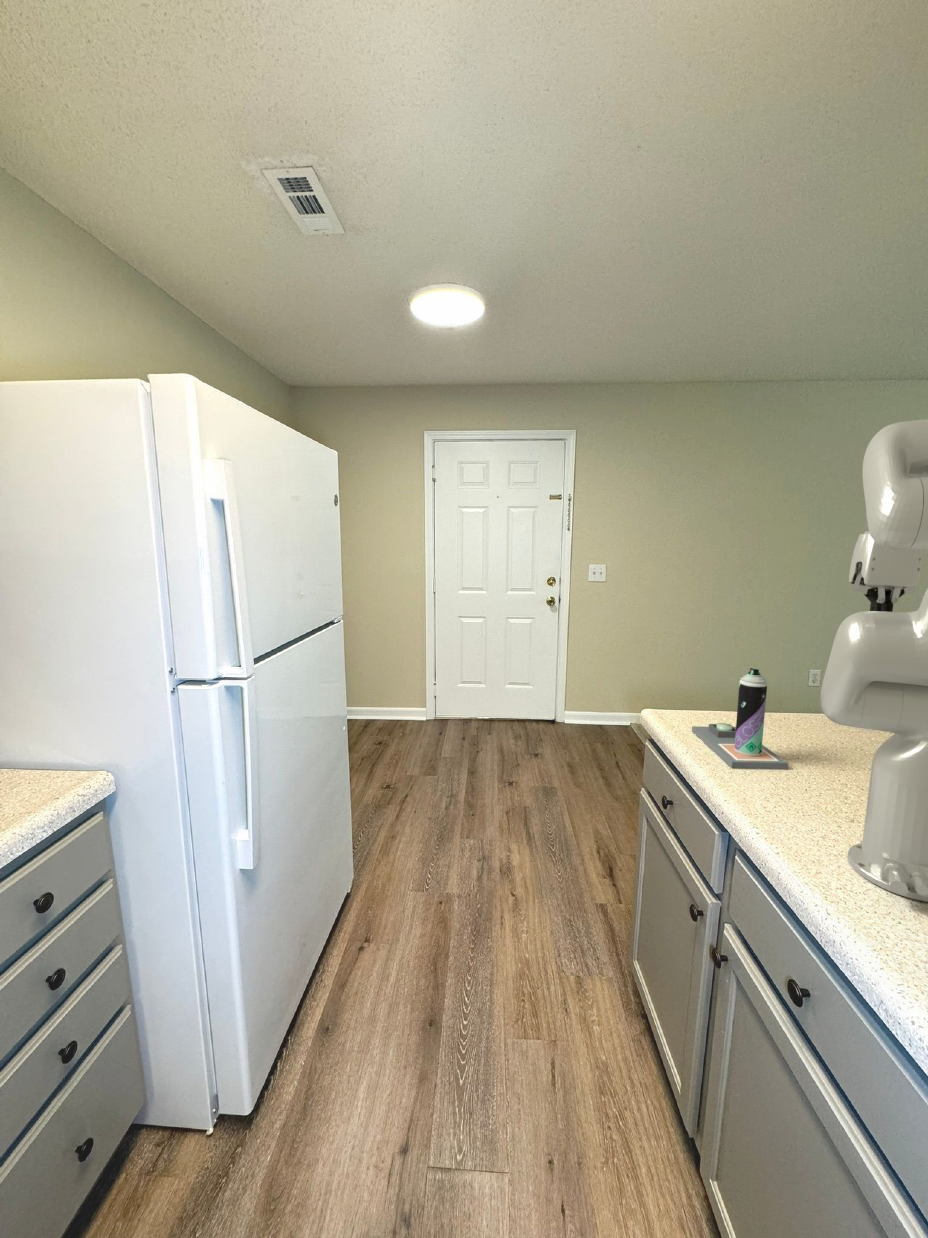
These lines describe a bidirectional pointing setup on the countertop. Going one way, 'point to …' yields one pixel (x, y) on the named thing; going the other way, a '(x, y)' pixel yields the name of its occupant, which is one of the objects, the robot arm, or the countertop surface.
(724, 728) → the button
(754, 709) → the spray can
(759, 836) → the countertop surface
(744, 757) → the picture board
